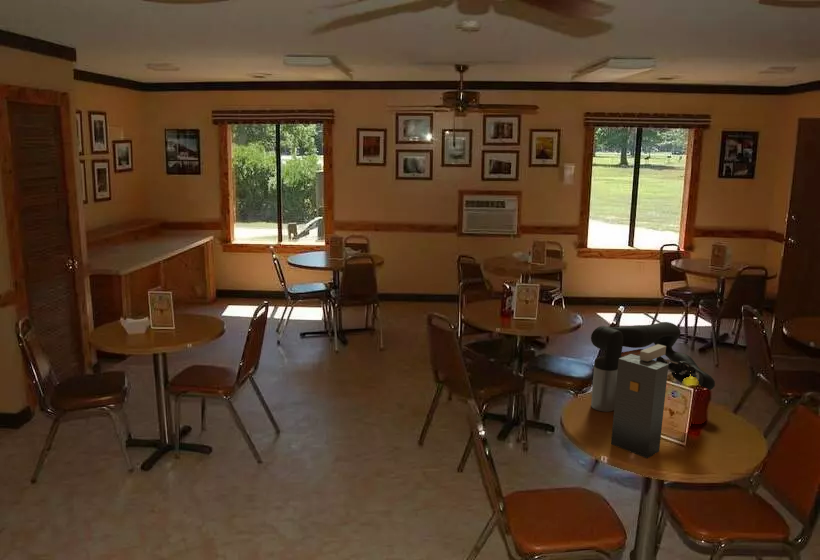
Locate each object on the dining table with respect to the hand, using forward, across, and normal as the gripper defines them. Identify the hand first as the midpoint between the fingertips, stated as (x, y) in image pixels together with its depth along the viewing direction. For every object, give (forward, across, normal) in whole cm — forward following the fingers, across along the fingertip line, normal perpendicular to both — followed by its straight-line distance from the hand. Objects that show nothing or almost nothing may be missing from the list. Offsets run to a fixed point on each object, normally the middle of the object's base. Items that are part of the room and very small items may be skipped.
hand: (669, 361), depth 239 cm
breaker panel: (+2, 0, +33) cm, 33 cm away
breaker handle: (+13, 0, +2) cm, 13 cm away
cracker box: (-30, -24, +15) cm, 41 cm away
